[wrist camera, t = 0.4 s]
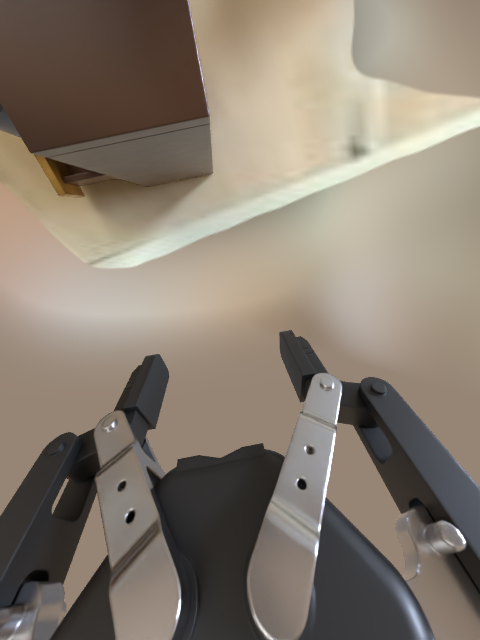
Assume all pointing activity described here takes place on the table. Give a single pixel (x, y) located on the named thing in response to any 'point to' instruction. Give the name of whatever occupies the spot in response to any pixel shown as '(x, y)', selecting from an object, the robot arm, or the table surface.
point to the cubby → (107, 86)
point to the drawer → (69, 176)
